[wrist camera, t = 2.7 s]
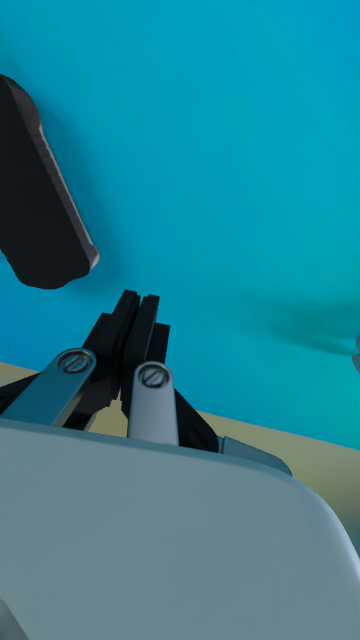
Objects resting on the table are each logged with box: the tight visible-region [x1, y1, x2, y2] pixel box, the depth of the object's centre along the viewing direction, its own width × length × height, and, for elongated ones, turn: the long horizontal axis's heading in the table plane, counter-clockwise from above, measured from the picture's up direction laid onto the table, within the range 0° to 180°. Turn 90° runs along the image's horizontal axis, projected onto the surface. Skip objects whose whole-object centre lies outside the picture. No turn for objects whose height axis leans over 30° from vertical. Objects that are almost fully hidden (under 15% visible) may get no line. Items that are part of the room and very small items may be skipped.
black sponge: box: [0, 74, 99, 289], centre depth 22 cm, size 16×8×4 cm, turn 13°
